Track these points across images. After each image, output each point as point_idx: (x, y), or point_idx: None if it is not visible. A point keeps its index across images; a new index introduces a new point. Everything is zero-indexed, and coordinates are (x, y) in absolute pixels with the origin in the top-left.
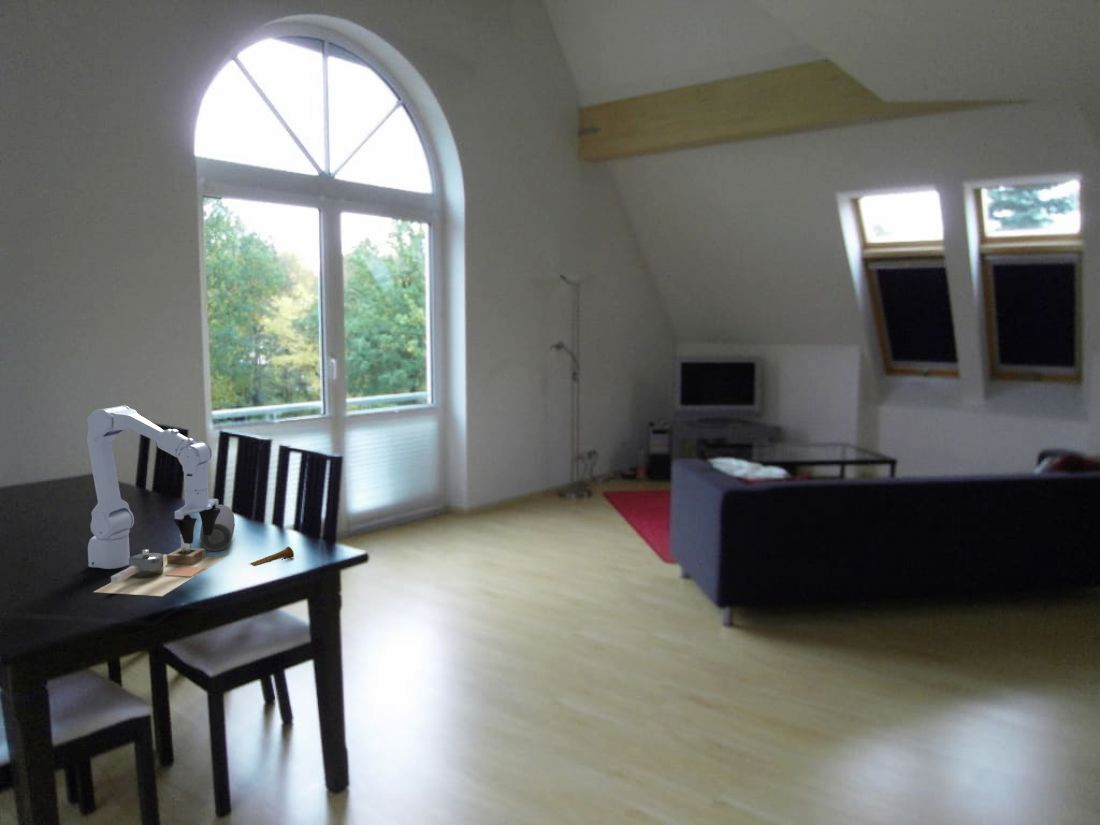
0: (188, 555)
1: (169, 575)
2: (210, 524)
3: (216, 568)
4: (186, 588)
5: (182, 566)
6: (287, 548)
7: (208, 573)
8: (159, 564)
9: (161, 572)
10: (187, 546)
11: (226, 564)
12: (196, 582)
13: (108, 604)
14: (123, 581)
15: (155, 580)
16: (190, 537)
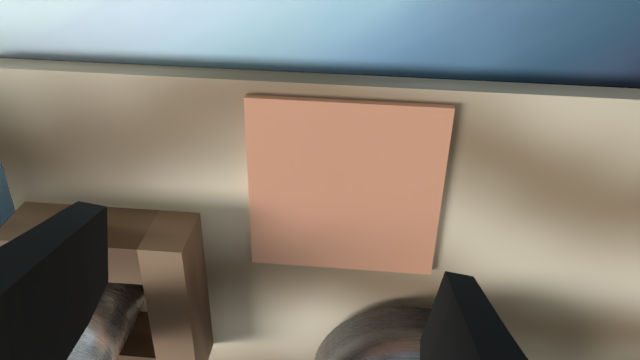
0: (168, 277)
1: (434, 249)
2: (21, 307)
3: (151, 43)
4: (616, 50)
5: (255, 249)
6: None
7: (269, 49)
8: None
9: (409, 307)
10: (97, 339)
11: (45, 11)
12: (477, 41)
13: None
14: None
15: (520, 286)
16: (508, 335)
